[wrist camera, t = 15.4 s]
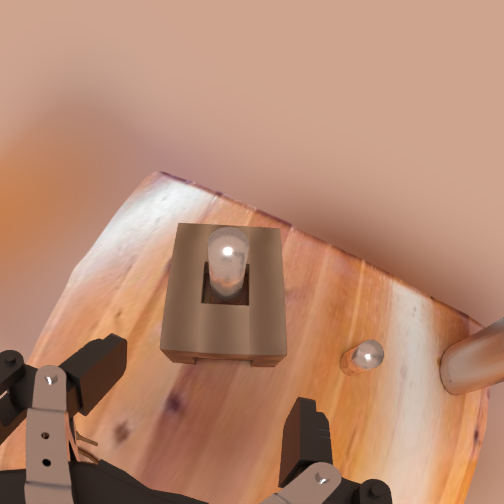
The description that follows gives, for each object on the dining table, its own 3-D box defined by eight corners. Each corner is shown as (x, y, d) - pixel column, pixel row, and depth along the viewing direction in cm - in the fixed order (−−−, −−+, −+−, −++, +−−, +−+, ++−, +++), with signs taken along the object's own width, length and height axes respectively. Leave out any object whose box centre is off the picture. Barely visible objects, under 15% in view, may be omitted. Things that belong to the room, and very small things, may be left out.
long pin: (239, 298, 39) (249, 228, 26) (238, 322, 37) (248, 262, 24) (213, 296, 39) (209, 225, 25) (211, 321, 37) (205, 260, 23)
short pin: (361, 350, 36) (381, 338, 31) (364, 374, 34) (385, 366, 29) (338, 352, 36) (357, 340, 31) (340, 377, 34) (360, 369, 29)
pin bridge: (270, 260, 43) (280, 228, 36) (273, 367, 34) (286, 354, 28) (184, 256, 42) (178, 222, 35) (172, 362, 33) (159, 348, 26)
